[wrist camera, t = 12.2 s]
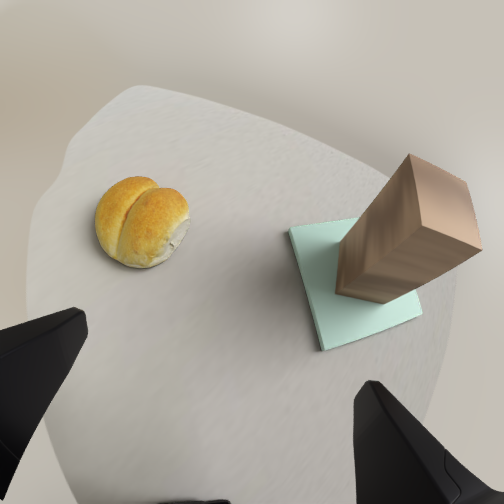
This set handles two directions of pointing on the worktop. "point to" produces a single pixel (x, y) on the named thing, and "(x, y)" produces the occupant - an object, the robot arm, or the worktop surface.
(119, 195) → the bread roll
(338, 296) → the green board
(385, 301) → the walnut block
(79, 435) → the worktop surface
